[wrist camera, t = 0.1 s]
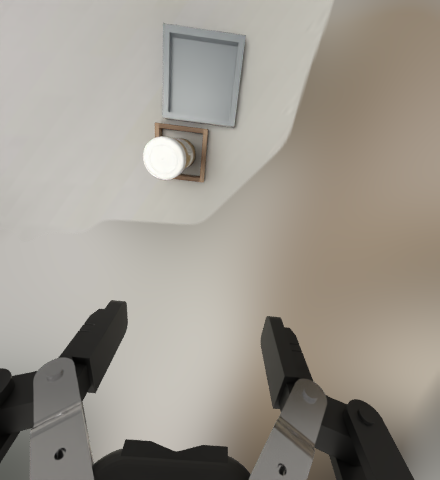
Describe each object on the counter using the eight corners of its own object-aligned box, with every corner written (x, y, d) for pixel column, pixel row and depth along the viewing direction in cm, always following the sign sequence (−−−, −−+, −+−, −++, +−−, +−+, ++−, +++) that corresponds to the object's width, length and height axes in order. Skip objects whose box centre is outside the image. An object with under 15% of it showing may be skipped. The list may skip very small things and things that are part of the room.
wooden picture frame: (158, 123, 35) (154, 122, 33) (208, 129, 35) (207, 129, 33) (158, 174, 38) (155, 176, 36) (204, 180, 38) (203, 182, 36)
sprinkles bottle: (180, 173, 38) (161, 188, 25) (162, 149, 36) (132, 154, 24) (201, 156, 37) (192, 164, 24) (184, 131, 35) (164, 126, 23)
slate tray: (166, 30, 30) (163, 23, 28) (244, 41, 31) (245, 35, 29) (165, 118, 34) (162, 117, 33) (233, 127, 35) (234, 126, 33)
